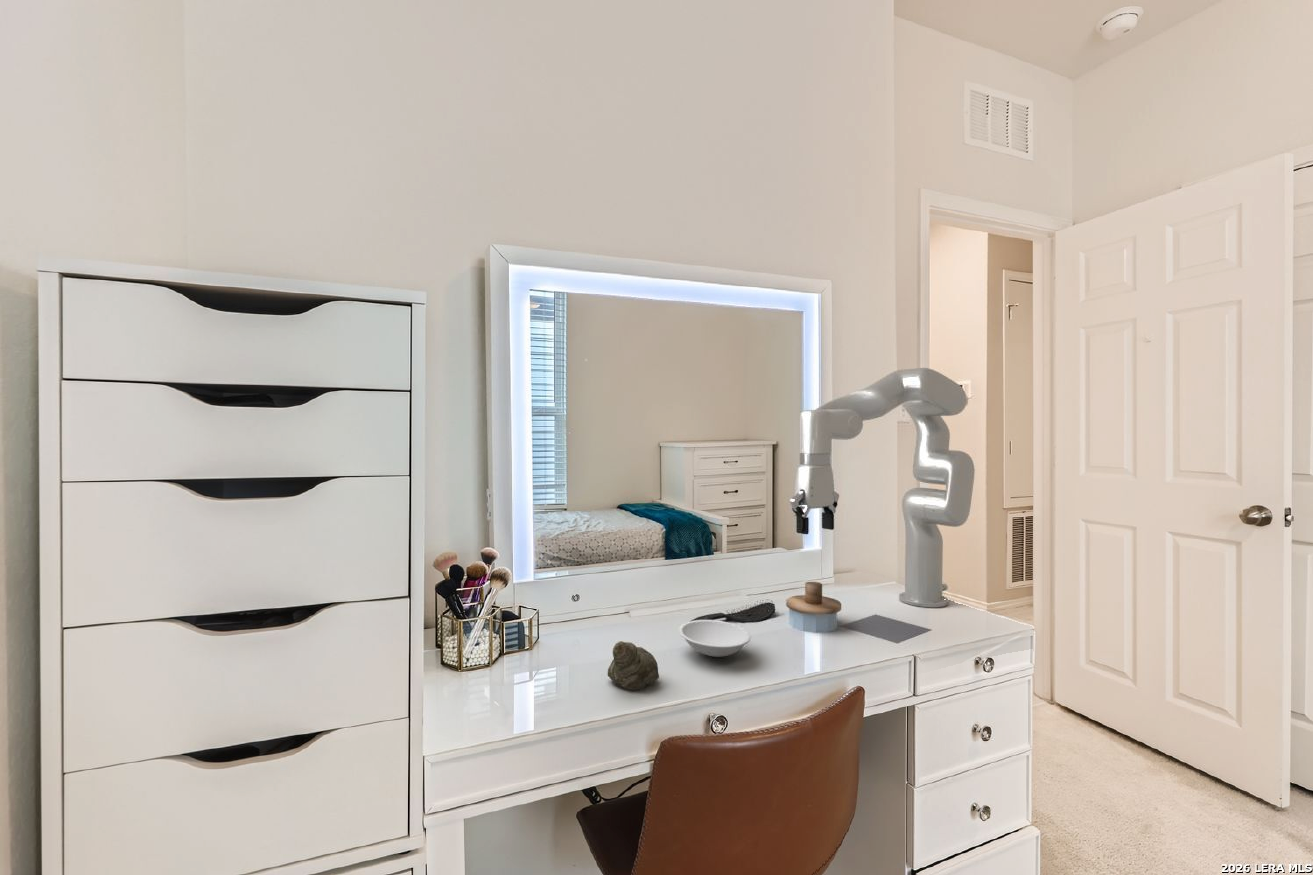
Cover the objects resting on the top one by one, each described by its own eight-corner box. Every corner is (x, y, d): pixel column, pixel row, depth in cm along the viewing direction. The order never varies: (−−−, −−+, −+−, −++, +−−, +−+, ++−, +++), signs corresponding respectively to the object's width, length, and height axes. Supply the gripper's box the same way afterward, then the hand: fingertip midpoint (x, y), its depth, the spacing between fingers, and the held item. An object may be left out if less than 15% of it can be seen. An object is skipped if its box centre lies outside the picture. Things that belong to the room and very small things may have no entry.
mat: (875, 616, 160) (875, 614, 160) (931, 631, 148) (931, 629, 148) (840, 627, 150) (840, 625, 150) (897, 645, 139) (897, 643, 139)
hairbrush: (679, 612, 155) (763, 595, 165) (680, 626, 155) (764, 609, 165) (695, 621, 147) (782, 604, 158) (695, 637, 148) (782, 618, 158)
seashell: (586, 647, 120) (602, 664, 111) (634, 608, 124) (653, 622, 115) (617, 691, 123) (635, 711, 113) (662, 651, 126) (684, 668, 117)
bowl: (809, 616, 159) (809, 597, 159) (846, 628, 150) (846, 607, 150) (780, 625, 152) (780, 605, 152) (817, 637, 143) (817, 616, 143)
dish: (765, 665, 127) (765, 640, 127) (703, 676, 121) (703, 650, 121) (723, 637, 143) (723, 616, 143) (666, 646, 138) (666, 624, 137)
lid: (808, 595, 160) (808, 574, 160) (852, 607, 150) (852, 584, 150) (775, 604, 152) (775, 582, 152) (819, 617, 142) (819, 594, 142)
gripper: (824, 458, 159) (824, 525, 159) (779, 461, 148) (779, 533, 149) (850, 460, 153) (850, 529, 153) (805, 463, 142) (804, 537, 143)
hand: (815, 531), depth 151 cm, fingers open, 9 cm apart
